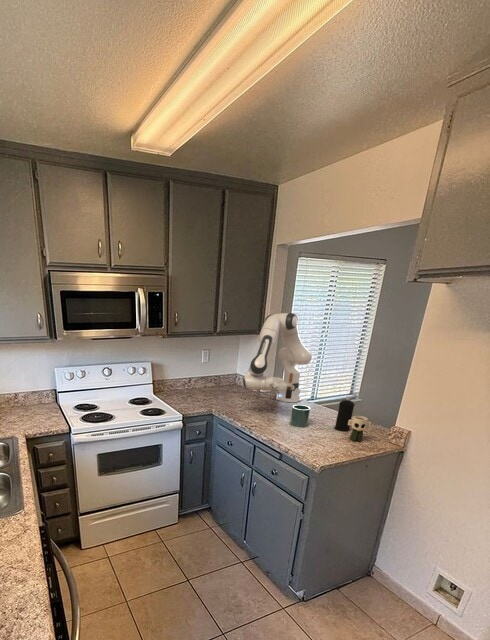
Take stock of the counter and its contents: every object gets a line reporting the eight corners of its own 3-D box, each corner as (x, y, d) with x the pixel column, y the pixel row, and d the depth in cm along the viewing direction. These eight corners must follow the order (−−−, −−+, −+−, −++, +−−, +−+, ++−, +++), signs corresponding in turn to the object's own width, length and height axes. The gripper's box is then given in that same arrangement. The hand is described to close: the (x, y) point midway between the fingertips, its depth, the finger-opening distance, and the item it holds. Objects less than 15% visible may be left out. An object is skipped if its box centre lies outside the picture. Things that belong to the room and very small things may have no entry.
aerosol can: (352, 430, 211) (359, 398, 204) (341, 432, 209) (347, 399, 202) (342, 426, 219) (348, 394, 211) (331, 427, 216) (337, 395, 209)
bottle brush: (284, 397, 230) (288, 372, 225) (290, 397, 230) (293, 372, 224) (285, 398, 227) (289, 373, 221) (291, 398, 227) (295, 373, 221)
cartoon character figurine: (345, 440, 197) (350, 418, 192) (344, 436, 203) (348, 414, 198) (367, 443, 193) (372, 420, 188) (365, 438, 199) (370, 416, 194)
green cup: (288, 421, 227) (291, 404, 223) (305, 421, 225) (307, 405, 221) (291, 426, 217) (294, 409, 213) (309, 427, 216) (312, 410, 212)
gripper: (272, 382, 216) (295, 383, 214) (267, 375, 235) (289, 375, 233) (270, 392, 218) (294, 393, 217) (266, 384, 237) (287, 385, 236)
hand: (291, 384), depth 225 cm, fingers closed on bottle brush, 2 cm apart
